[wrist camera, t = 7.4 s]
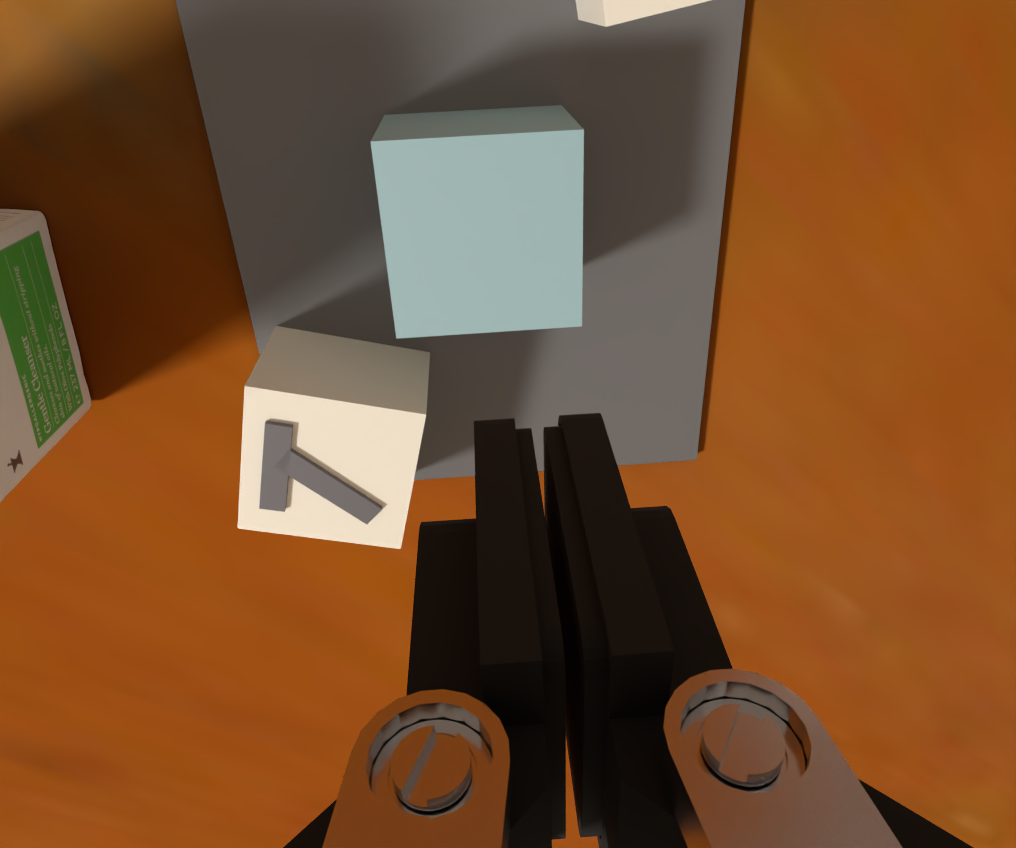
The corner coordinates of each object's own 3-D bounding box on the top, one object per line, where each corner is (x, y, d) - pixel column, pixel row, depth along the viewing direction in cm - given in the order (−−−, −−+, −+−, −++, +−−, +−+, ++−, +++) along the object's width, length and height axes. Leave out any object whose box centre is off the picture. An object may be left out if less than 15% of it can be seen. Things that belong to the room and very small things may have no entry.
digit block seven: (430, 352, 29) (425, 417, 25) (407, 474, 32) (400, 552, 28) (275, 325, 28) (243, 388, 24) (267, 454, 31) (236, 531, 27)
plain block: (561, 105, 25) (584, 129, 21) (562, 274, 28) (582, 326, 24) (384, 114, 25) (370, 141, 21) (404, 284, 28) (396, 338, 24)
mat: (767, -250, 21) (772, -253, 21) (694, 454, 33) (696, 459, 33) (126, -224, 20) (121, -228, 20) (293, 483, 33) (291, 488, 32)
